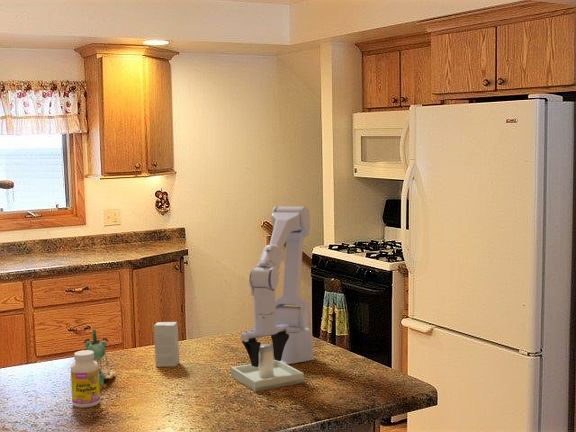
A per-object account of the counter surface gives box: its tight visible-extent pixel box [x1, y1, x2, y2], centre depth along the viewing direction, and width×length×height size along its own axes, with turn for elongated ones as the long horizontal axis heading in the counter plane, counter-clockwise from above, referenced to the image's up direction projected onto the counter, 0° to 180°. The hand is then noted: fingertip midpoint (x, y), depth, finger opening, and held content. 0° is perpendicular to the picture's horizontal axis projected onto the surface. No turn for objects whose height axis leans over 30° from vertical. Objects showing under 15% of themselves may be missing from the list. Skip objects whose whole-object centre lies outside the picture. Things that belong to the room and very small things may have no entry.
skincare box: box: [153, 321, 180, 368], centre depth 223 cm, size 6×4×12 cm
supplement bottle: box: [70, 349, 101, 409], centre depth 192 cm, size 7×7×13 cm
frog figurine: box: [83, 328, 116, 390], centre depth 212 cm, size 10×18×15 cm, turn 7°
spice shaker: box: [258, 343, 274, 378], centre depth 208 cm, size 4×4×8 cm
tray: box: [230, 359, 305, 393], centre depth 208 cm, size 14×15×2 cm
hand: (266, 363), depth 208 cm, fingers open, 7 cm apart
